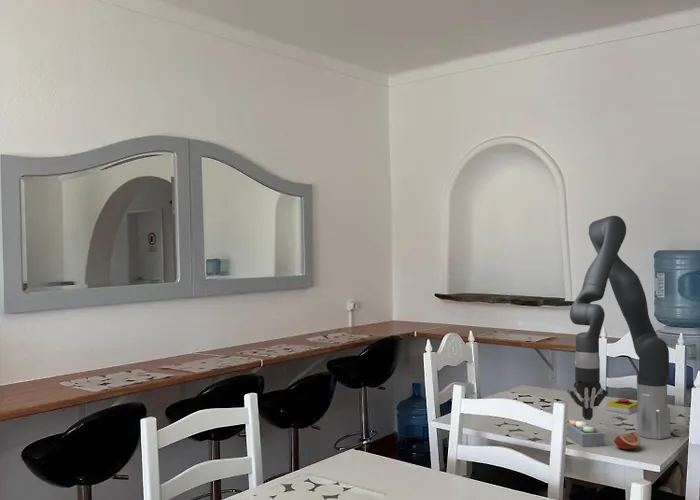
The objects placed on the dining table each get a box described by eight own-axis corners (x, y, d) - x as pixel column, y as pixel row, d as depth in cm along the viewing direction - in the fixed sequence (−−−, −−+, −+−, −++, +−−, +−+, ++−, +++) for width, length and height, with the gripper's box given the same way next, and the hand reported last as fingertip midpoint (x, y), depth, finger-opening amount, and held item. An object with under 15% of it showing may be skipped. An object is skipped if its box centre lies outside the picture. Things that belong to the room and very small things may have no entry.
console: (560, 431, 230) (560, 420, 230) (580, 431, 230) (580, 419, 230) (582, 446, 212) (582, 434, 212) (603, 446, 213) (603, 433, 213)
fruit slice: (627, 444, 214) (627, 429, 214) (646, 449, 209) (645, 433, 209) (609, 448, 210) (609, 432, 210) (627, 454, 204) (627, 437, 204)
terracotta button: (567, 425, 228) (567, 419, 228) (577, 425, 229) (577, 419, 229) (571, 428, 225) (571, 422, 225) (581, 428, 225) (581, 421, 225)
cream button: (574, 427, 223) (574, 420, 223) (584, 426, 223) (583, 420, 223) (578, 430, 219) (578, 423, 219) (588, 429, 220) (588, 423, 220)
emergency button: (642, 398, 262) (627, 405, 251) (642, 410, 262) (627, 417, 251) (618, 395, 268) (602, 401, 257) (618, 406, 268) (603, 413, 257)
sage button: (581, 431, 217) (581, 425, 217) (591, 431, 218) (591, 424, 218) (585, 434, 214) (585, 428, 214) (596, 434, 214) (595, 427, 214)
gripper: (572, 368, 212) (572, 422, 212) (612, 367, 213) (612, 421, 213) (562, 363, 219) (563, 416, 219) (602, 363, 220) (602, 415, 220)
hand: (587, 419), depth 216 cm, fingers closed
